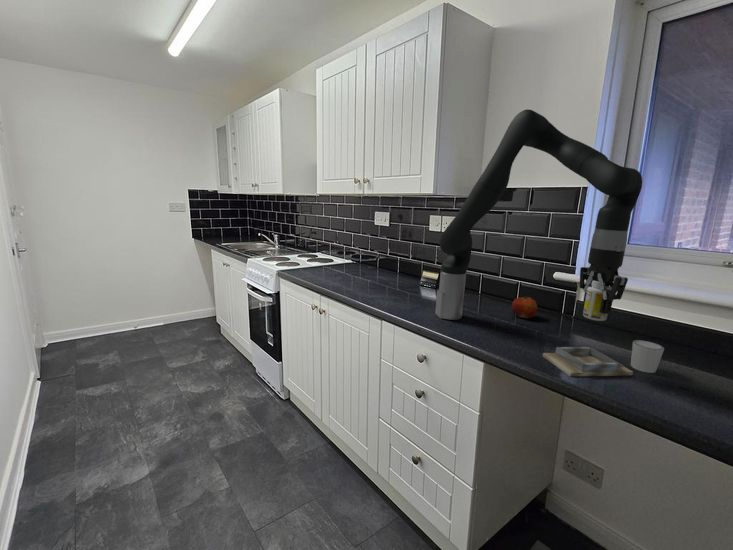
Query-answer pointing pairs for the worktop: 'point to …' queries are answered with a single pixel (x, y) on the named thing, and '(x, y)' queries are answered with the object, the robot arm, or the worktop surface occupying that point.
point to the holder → (585, 362)
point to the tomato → (524, 307)
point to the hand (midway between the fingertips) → (595, 309)
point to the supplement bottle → (594, 302)
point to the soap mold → (539, 546)
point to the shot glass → (646, 356)
